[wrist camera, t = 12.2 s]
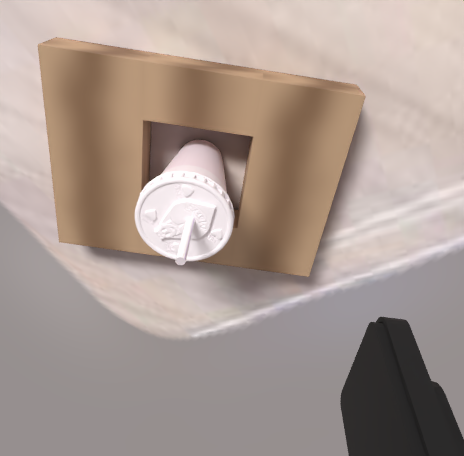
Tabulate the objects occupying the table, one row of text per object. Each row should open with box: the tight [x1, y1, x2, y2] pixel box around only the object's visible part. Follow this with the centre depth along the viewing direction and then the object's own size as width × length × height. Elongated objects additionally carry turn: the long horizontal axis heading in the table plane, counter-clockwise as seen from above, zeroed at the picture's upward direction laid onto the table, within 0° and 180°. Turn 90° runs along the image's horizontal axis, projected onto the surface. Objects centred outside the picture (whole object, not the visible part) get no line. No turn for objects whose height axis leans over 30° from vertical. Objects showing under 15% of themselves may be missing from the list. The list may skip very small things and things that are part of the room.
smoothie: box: [135, 140, 235, 265], centre depth 28 cm, size 6×6×14 cm
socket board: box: [38, 37, 365, 277], centre depth 33 cm, size 22×16×3 cm
